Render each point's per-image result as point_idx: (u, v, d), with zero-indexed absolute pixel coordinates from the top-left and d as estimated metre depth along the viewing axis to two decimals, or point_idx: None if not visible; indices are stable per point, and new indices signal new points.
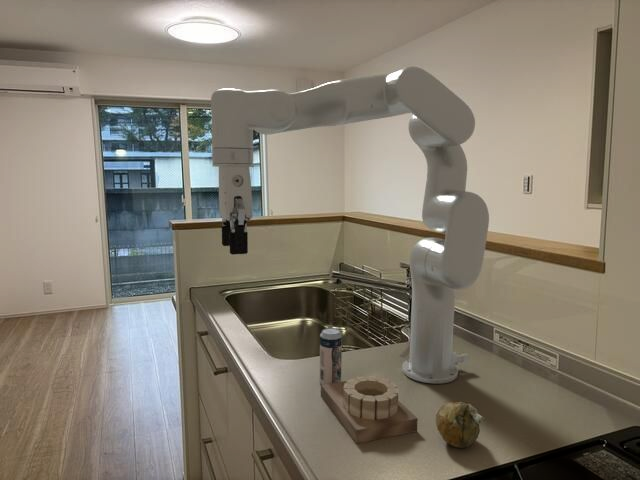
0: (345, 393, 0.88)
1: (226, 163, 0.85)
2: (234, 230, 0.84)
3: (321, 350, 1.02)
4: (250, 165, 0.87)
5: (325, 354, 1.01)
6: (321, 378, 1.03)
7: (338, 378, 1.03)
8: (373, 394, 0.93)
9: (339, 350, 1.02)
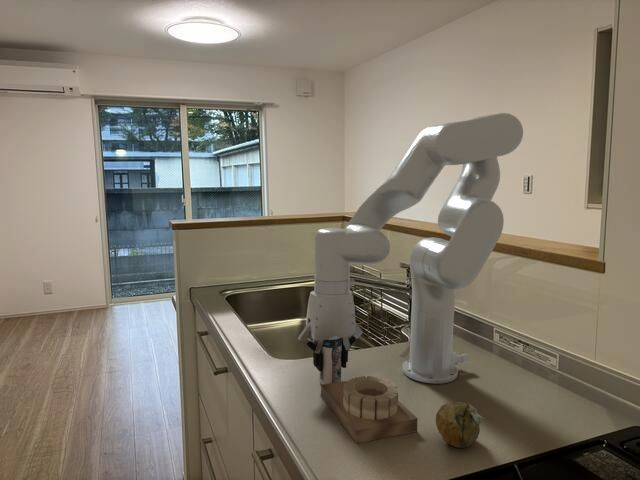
0: (345, 393, 0.88)
1: None
2: (349, 347, 1.04)
3: (321, 350, 1.02)
4: None
5: (325, 354, 1.01)
6: (321, 378, 1.03)
7: (338, 378, 1.03)
8: (373, 394, 0.93)
9: (339, 350, 1.02)
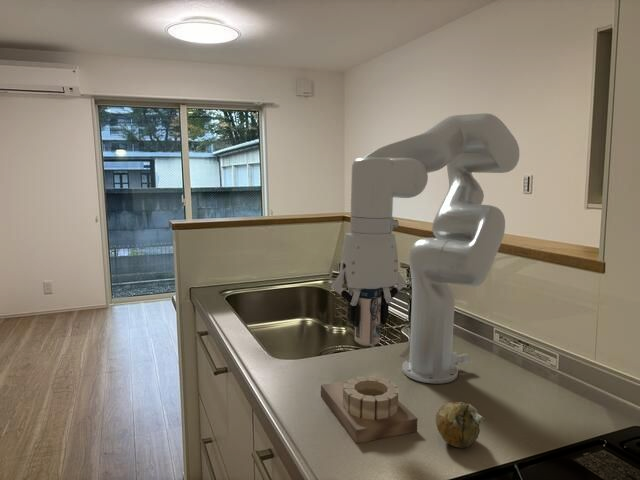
0: (345, 393, 0.88)
1: (391, 232, 0.85)
2: None
3: None
4: None
5: (363, 307, 0.86)
6: (357, 335, 0.88)
7: (377, 336, 0.87)
8: (373, 394, 0.93)
9: (379, 302, 0.86)
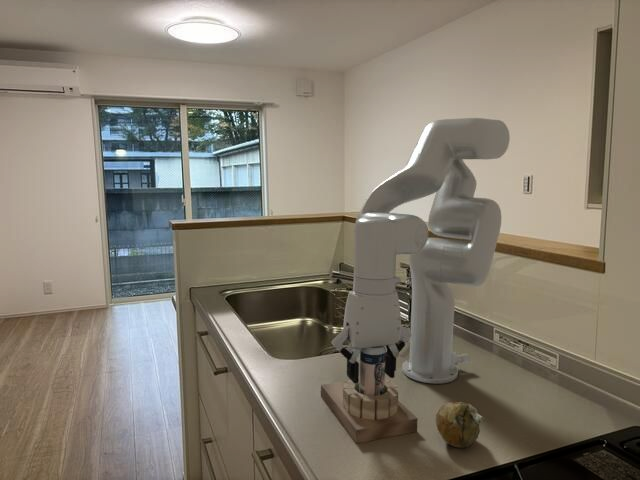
0: (345, 393, 0.88)
1: (394, 290, 0.86)
2: None
3: (361, 367, 0.88)
4: None
5: (367, 372, 0.87)
6: None
7: None
8: None
9: (383, 367, 0.87)
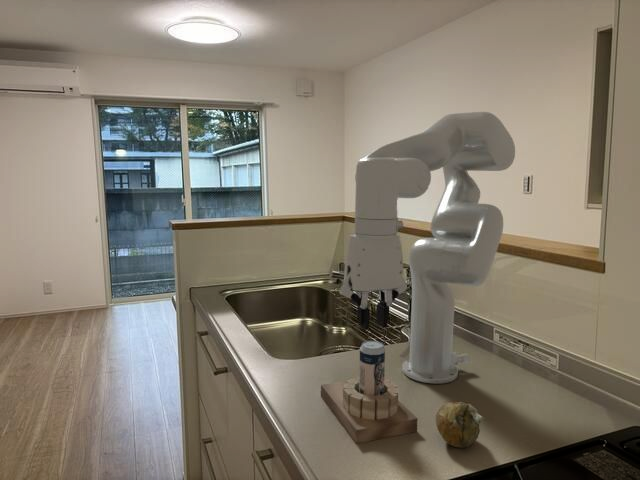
0: (345, 393, 0.88)
1: (396, 233, 0.84)
2: None
3: (361, 367, 0.88)
4: None
5: (367, 372, 0.87)
6: None
7: None
8: None
9: (382, 367, 0.87)
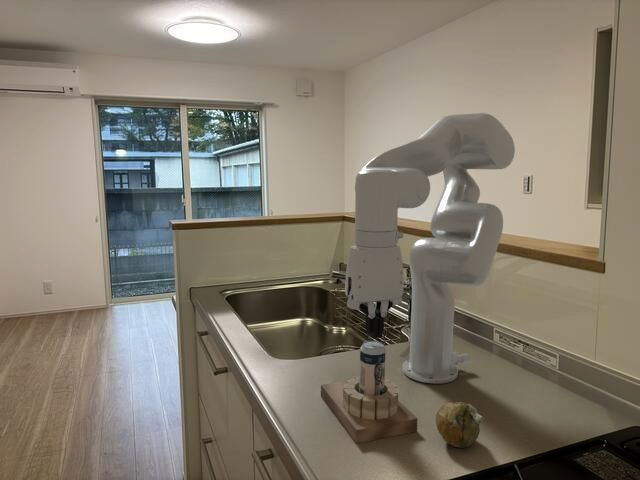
0: (345, 393, 0.88)
1: (396, 244, 0.85)
2: None
3: (361, 367, 0.88)
4: None
5: (367, 372, 0.87)
6: None
7: None
8: None
9: (383, 367, 0.87)
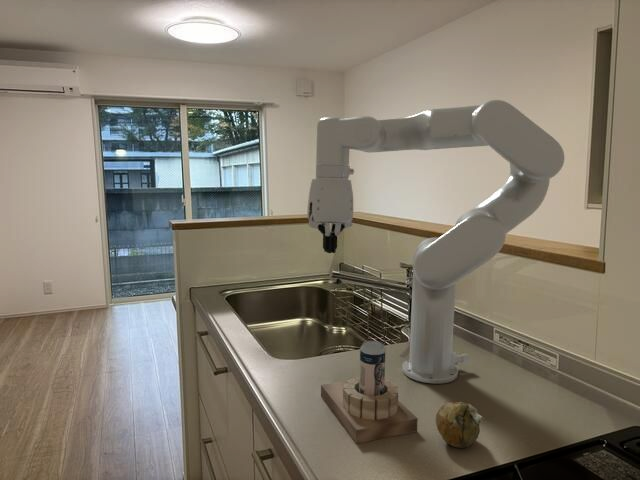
0: (345, 393, 0.88)
1: None
2: (339, 233, 1.10)
3: (361, 367, 0.88)
4: None
5: (367, 372, 0.87)
6: None
7: None
8: None
9: (383, 367, 0.87)
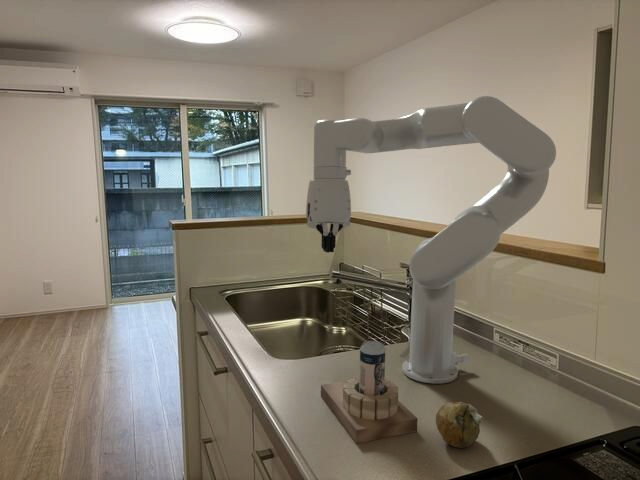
0: (345, 393, 0.88)
1: None
2: None
3: (361, 367, 0.88)
4: None
5: (367, 372, 0.87)
6: None
7: None
8: None
9: (383, 367, 0.87)
